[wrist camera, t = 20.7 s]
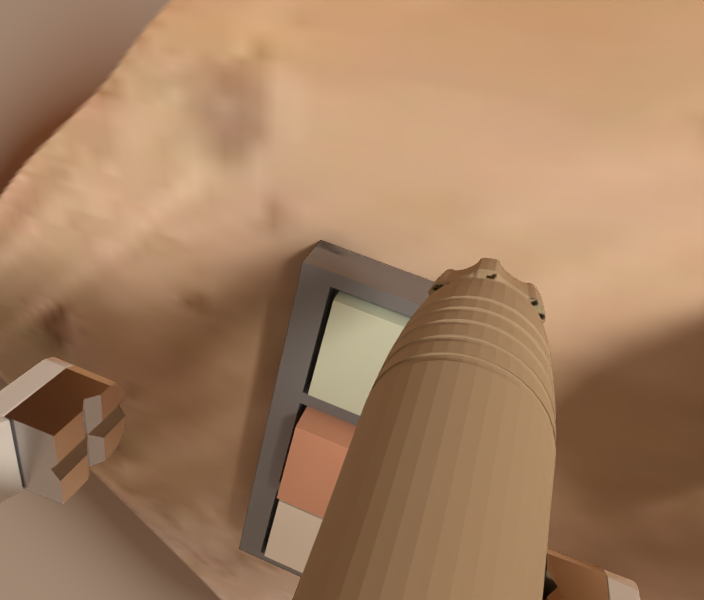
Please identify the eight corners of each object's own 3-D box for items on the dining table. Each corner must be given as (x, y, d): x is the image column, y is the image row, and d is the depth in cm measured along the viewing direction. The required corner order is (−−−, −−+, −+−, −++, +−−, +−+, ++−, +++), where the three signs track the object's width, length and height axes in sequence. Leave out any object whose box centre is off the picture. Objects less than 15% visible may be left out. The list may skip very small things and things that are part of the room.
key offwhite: (291, 475, 37) (279, 500, 35) (380, 513, 36) (372, 541, 34) (276, 530, 40) (264, 555, 39) (357, 565, 40) (348, 593, 38)
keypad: (320, 240, 28) (302, 261, 26) (514, 311, 27) (511, 340, 25) (254, 520, 42) (239, 548, 40) (381, 576, 41) (372, 609, 39)
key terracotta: (309, 401, 32) (295, 426, 30) (413, 443, 31) (406, 472, 29) (290, 471, 35) (276, 497, 33) (383, 511, 35) (374, 540, 33)
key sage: (346, 279, 28) (333, 300, 26) (465, 324, 27) (460, 348, 26) (321, 370, 32) (307, 394, 30) (425, 412, 31) (418, 439, 29)
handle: (529, 173, 14) (309, 1605, 2) (606, 375, 16) (783, 1735, 3) (367, 235, 16) (-256, 1024, 4) (451, 405, 18) (223, 1297, 6)
